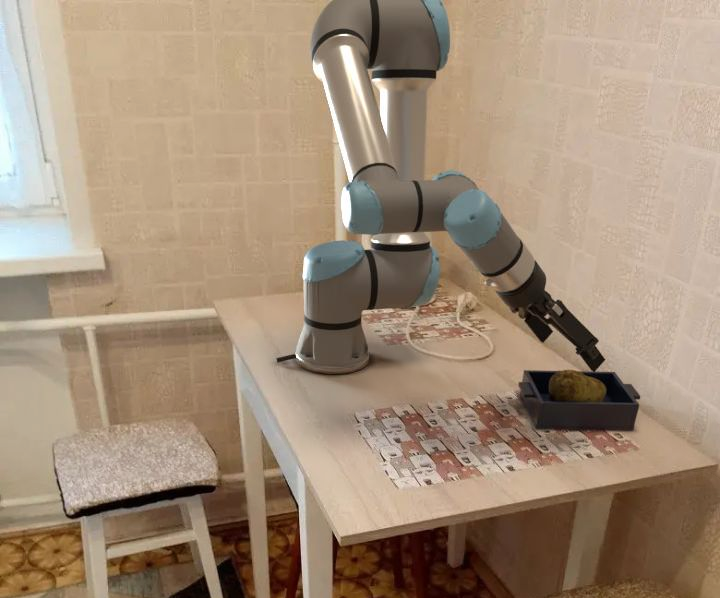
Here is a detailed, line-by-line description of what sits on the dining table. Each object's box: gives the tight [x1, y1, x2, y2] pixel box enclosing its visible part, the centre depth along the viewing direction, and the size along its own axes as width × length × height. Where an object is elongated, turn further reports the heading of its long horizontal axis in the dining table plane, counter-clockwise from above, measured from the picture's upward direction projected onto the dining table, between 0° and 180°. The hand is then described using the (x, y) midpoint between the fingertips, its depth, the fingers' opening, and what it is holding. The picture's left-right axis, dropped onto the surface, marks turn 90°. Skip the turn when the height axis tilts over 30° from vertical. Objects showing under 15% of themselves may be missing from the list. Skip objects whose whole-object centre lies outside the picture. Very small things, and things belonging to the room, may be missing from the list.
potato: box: [549, 369, 606, 402], centre depth 133 cm, size 8×13×8 cm, turn 104°
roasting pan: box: [519, 369, 640, 431], centre depth 135 cm, size 17×14×5 cm
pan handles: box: [517, 381, 641, 401], centre depth 134 cm, size 21×5×1 cm, turn 91°
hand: (571, 350), depth 129 cm, fingers open, 13 cm apart
